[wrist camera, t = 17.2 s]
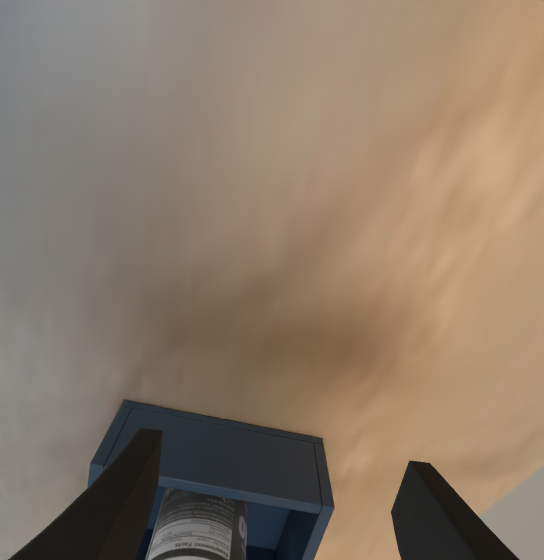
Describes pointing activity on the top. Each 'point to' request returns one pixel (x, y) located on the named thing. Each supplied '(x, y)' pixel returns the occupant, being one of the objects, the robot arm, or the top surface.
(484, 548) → the robot arm
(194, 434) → the bin
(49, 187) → the top surface
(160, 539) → the pill bottle
